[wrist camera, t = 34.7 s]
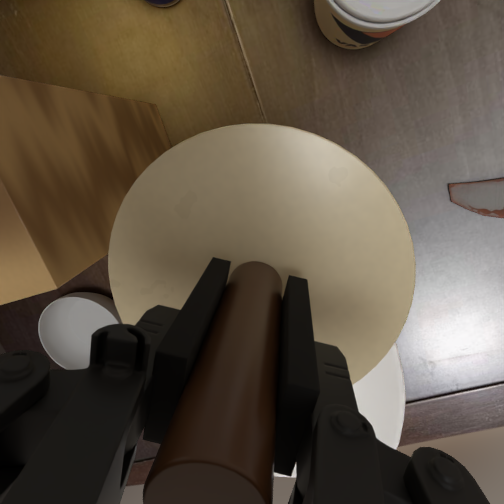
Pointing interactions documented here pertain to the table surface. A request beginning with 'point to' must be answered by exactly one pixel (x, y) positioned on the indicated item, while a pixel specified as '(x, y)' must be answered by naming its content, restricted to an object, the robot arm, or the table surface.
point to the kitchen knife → (480, 196)
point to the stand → (65, 178)
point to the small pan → (75, 326)
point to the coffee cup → (366, 19)
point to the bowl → (381, 399)
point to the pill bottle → (162, 2)
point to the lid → (256, 286)
